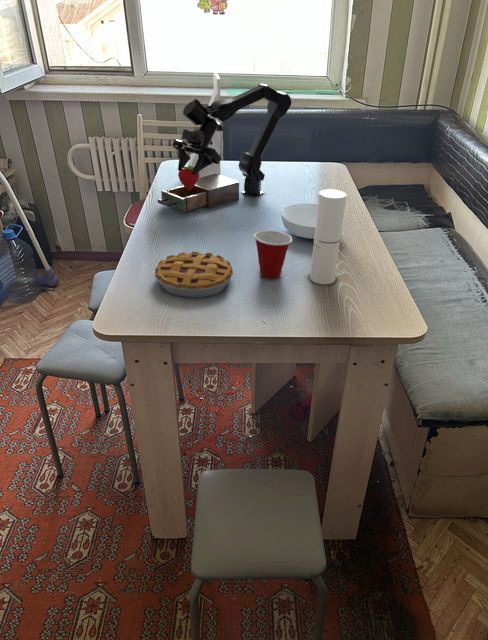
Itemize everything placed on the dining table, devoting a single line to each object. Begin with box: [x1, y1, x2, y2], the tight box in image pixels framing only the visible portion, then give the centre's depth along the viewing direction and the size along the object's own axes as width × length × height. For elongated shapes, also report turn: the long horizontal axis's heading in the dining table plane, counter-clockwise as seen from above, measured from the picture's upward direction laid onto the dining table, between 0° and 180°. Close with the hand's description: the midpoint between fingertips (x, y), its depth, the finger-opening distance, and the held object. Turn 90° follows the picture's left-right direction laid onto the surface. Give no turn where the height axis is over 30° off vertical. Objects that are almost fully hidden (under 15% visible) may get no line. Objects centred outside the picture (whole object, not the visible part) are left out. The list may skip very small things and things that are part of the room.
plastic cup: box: [253, 230, 293, 280], centre depth 151 cm, size 11×11×12 cm
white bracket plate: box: [186, 70, 221, 178], centre depth 211 cm, size 20×14×40 cm
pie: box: [154, 251, 235, 298], centre depth 147 cm, size 22×22×5 cm
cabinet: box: [194, 174, 240, 209], centre depth 202 cm, size 16×13×7 cm
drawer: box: [157, 185, 208, 214], centre depth 194 cm, size 20×12×5 cm, turn 138°
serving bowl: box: [280, 202, 318, 240], centre depth 179 cm, size 21×21×7 cm
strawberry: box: [177, 161, 199, 190], centre depth 189 cm, size 6×8×10 cm
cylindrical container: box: [309, 188, 347, 285], centre depth 146 cm, size 7×7×25 cm
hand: (185, 172), depth 187 cm, fingers closed on strawberry, 6 cm apart
